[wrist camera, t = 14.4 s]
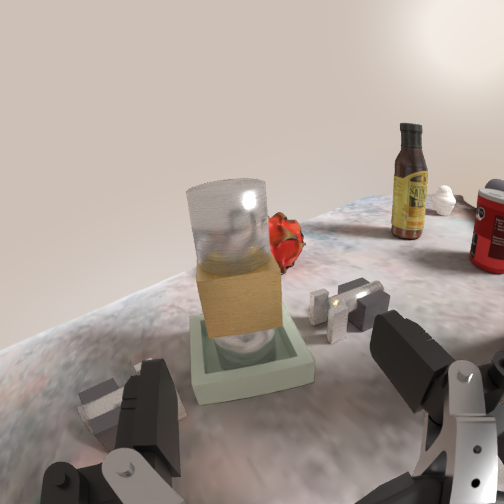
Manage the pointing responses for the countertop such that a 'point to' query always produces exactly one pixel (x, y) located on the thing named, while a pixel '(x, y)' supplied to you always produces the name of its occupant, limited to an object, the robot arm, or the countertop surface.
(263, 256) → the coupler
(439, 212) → the muffin
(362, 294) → the shaft
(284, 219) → the dragon fruit
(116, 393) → the shaft
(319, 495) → the countertop surface
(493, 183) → the bluetooth speaker
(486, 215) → the canned food
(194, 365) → the mint green tray
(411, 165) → the sauce bottle
